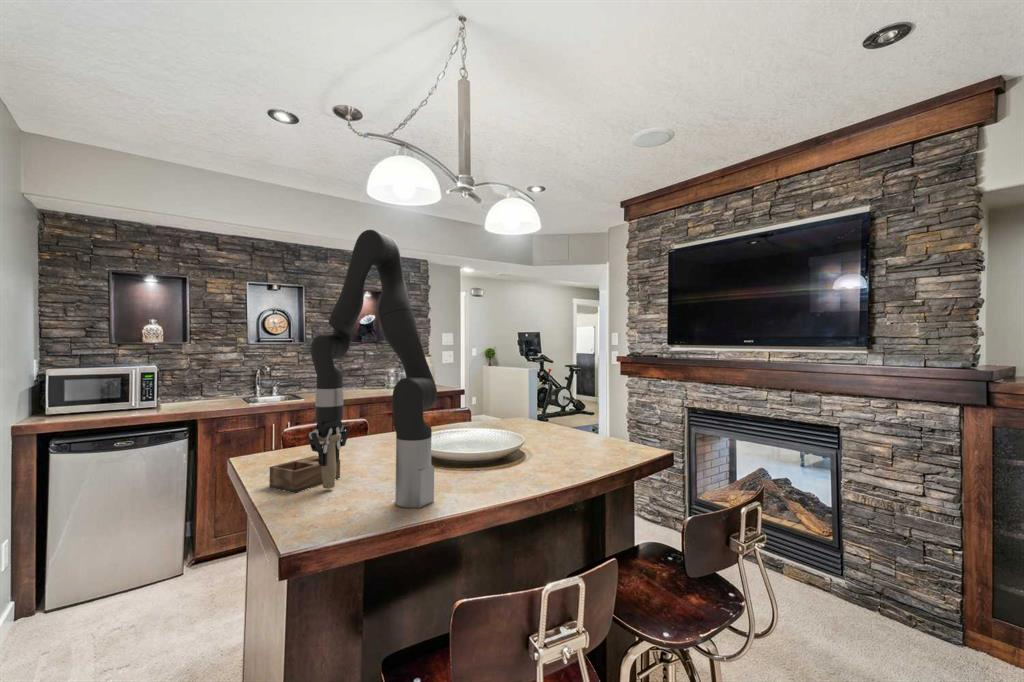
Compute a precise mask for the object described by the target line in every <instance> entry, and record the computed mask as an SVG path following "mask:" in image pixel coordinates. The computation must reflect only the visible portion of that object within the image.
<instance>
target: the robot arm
mask: <svg viewBox="0 0 1024 682" xmlns="http://www.w3.org/2000/svg"><path fill="white" fill-rule="evenodd" d="M349 260H350V261H349V264H348V268H347V271H346V275H345V278H344V283H343V285H342V288H341V291H340V294H339V296H338V298H337V301H336V303H335V305H334V307H333V309H332V311H331V313H330V315H329V318H328V324H329V325H328V326H330V327H331V328H332V329H333V331H332V333H331V334H319V335H317V336H316V335H315V336H314V338H313V340H311V341H312V342H311V344H310V355H311V359H312V362H313V363H312V364H313V367H314V371H315V373H316V374H315V375H316V381H315V382H316V383H315V384H316V386H315V387H316V390H315V391H316V392H315V399H314V401H315V402H314V405H315V406H314V420H315V422H316V426H315V428H314V430H312V431H308V432H307V433H306V437H307V439H308V443H309V446H310V448H311V451H312V452H317V454H318V455H317V456H318V463H319V465H320V466H326V465H327V453H326V452H327V447H328V445H329V443H330V442H329V440H330V438H329V436H331V435H338V434H341V439H340V440H338V441H337V442H336V444H335V451H336V463H338V460H339V459H340V449H341V448H342V447H345V446H346V443H347V440H348V438H349V437H348V436H349V432H350V429H351V427H350V425H344V424H343V423H342V420H343V419H344V390H343V385H344V384H343V378H344V377H343V375H344V374H343V370H342V369H341V368H339V367H336V366H335V363H334V360H337V359H341V358H343V357H344V356H345V355H346V354H347V353H348V351H349V349H350V346H351V342H352V336H353V331H354V326H355V325H356V323H357V322H358V318H359V317H360V315H361V313H362V309H363V306H364V302H365V283H366V279H367V276H368V274H369V272H370V270H371V268H372V267H373V266H374V267H375V268H376V269H377V272H378V276H379V280H380V284H381V285H380V286H381V291H380V292H381V293H380V296H379V302H378V309H377V310H378V311H377V313H378V319H379V322H380V326H381V330H382V334H383V336H384V338H385V339H386V342H387V343H388V345H389V346H390V348H391V349H392V350H393V351H394V352H395V354H396V355H397V357H398V359H399V361H400V362H401V364H402V366H403V370H404V374H405V376H406V377H404V378H402V379H401V378H400V380H399V381H397V382H396V383H395V385H394V387H393V391H392V397H391V398H392V399H391V400H392V402H391V403H392V423H393V428H394V431H395V499H394V501H395V502H394V503H395V505H396V506H398V507H400V508H410V509H411V508H416V509H417V508H418V509H420V508H423V507H425V506H426V505H430V504H431V503H433V502H434V501H435V466H434V465H432V437H433V436H432V434H433V433H432V431H433V430H432V426H431V425H429V424H427V423H426V422H425V420H424V419H425V417H424V411H425V410H428V409H431V408H432V407H434V405H435V404H436V401H437V398H438V388H437V385H436V382H435V380H434V376H433V374H432V371H431V369H430V366H429V364H428V361H427V358H426V355H425V353H424V348H423V344H422V340H421V337H420V334H419V331H418V326H417V322H416V318H415V315H414V311H413V308H412V304H411V302H410V301H411V300H410V297H409V294H408V293H409V291H408V288H407V285H406V282H405V277H404V272H403V271H404V270H403V264H402V259H401V253H400V248H399V245H398V242H397V241H396V240H395V239H394V238H393V237H392V236H389V235H386V233H382V232H380V231H378V230H376V229H366V230H364V231H362V232H361V233H360V235H358V237H357V239H356V241H355V244H354V247H353V250H352V253H351V256H350V259H349ZM318 435H319V436H320V437H322V438H325V437H326V439H325V441H321V442H320V441H319V440H318V437H319V436H318Z"/></svg>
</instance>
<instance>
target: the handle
mask: <svg viewBox="0 0 1024 682" xmlns="http://www.w3.org/2000/svg"><path fill="white" fill-rule="evenodd" d="M318 436H319V435H318ZM329 438H330V440H329V442H330V443H329V445H328V447H327V452H326V453H327V465H326V466H322V468H321V472H322V473H321V474H322V482H323V484H322V487H323V488H322V489H333V488H335V486H336V480H335V479H336V451H335V444H336V442H337V441H338V440H340V439H341V434H338V435H331V436H329ZM325 439H326V437H325V438H322V437H320V436H319V437H318V440H319V441H320V442H321V441H325Z"/></svg>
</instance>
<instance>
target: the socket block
mask: <svg viewBox="0 0 1024 682" xmlns="http://www.w3.org/2000/svg"><path fill="white" fill-rule="evenodd" d="M321 468H322V466H320V465H319V463H318V455H312V456H308V457H304V458H299V459H297V460H296V459H295V460H292V461H288V462H284V463H280V464H276V465H273V466H269V487H270V489H274V488H275V489H274V490H278V489H280V490H279V491H283V490H285V492H288V491H289V492H288V493H292V492H293V494H297V493H300V492H299V491H301V492H303V491H302V490H304V491H306V490H305V489H307V488H310V489H312V488H311V487H313V488H315V487H314V486H316V487H318V486H317V485H319V486H321V485H320V484H322V485H323V482H322V474H321V473H322V472H321ZM338 478H341V458H339V460H338V463H336V479H337V480H339V479H338ZM307 490H308V489H307Z"/></svg>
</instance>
